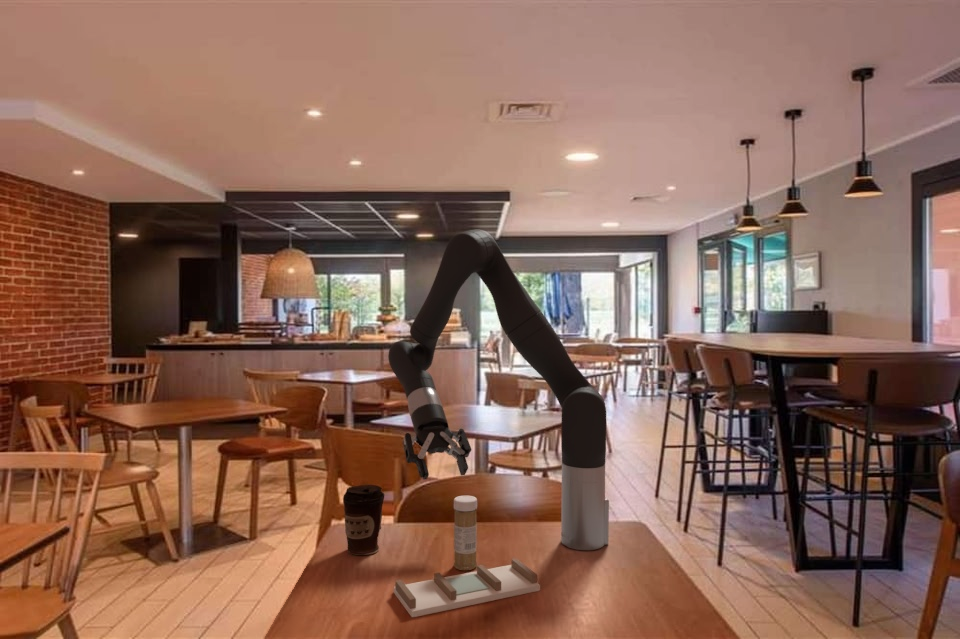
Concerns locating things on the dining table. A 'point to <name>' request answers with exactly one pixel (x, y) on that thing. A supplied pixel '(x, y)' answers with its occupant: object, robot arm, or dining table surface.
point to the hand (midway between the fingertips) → (445, 475)
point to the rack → (466, 588)
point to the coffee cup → (363, 518)
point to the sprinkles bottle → (465, 532)
